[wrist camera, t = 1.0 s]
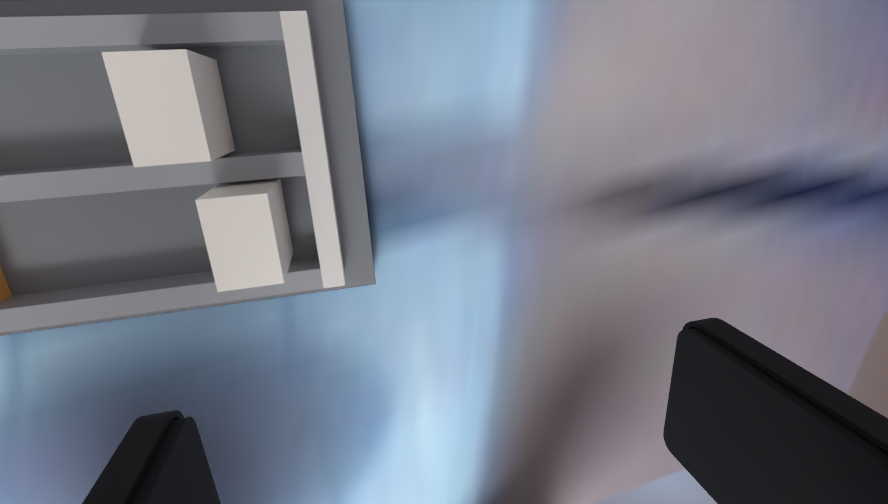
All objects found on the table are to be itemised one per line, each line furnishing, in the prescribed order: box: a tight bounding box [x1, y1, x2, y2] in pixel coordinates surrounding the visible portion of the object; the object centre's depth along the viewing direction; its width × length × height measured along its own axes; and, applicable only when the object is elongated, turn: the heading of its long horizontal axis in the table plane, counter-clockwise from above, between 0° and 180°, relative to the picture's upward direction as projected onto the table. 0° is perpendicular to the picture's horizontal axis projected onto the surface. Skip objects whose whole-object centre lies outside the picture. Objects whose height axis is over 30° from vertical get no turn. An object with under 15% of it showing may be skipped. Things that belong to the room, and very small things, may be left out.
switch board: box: [0, 0, 376, 336], centre depth 23 cm, size 22×16×4 cm
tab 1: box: [101, 49, 235, 167], centre depth 20 cm, size 3×4×5 cm
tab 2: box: [195, 178, 293, 292], centre depth 23 cm, size 3×4×5 cm
